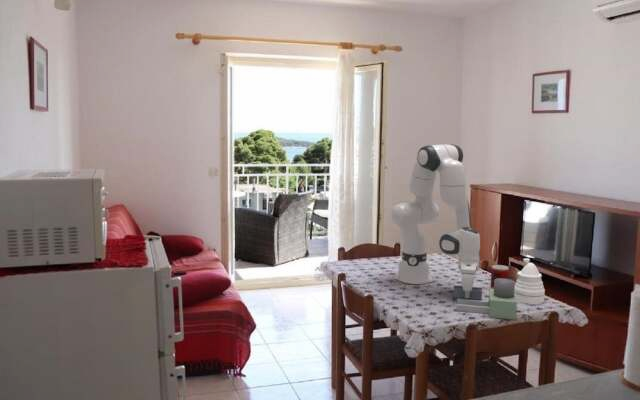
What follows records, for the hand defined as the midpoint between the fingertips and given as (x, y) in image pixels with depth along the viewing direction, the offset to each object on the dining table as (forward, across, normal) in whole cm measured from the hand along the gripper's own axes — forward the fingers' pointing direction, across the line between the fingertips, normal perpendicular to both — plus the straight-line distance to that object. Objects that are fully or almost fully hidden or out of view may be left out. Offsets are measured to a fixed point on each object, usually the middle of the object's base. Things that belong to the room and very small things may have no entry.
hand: (467, 295), depth 244 cm
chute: (+2, 0, 0) cm, 2 cm away
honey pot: (+2, -7, +26) cm, 27 cm away
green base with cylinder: (+2, +13, +7) cm, 16 cm away
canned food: (+2, -19, +14) cm, 24 cm away
